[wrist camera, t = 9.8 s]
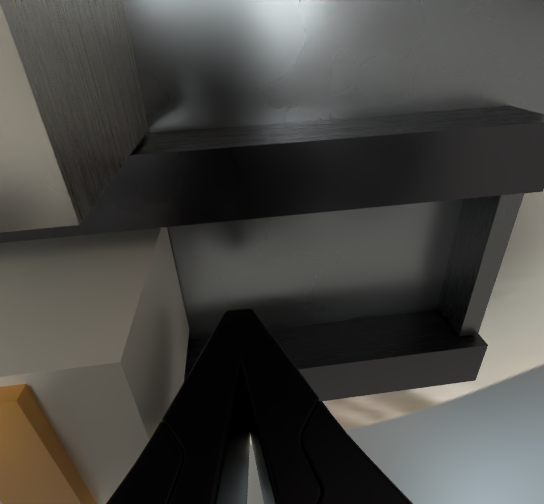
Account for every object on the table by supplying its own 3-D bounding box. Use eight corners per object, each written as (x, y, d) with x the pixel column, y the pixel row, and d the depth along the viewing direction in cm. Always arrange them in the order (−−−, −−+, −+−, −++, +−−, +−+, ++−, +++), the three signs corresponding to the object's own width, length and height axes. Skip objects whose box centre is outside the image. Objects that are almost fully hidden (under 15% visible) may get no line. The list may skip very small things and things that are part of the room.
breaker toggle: (164, 216, 10) (115, 378, 5) (189, 329, 12) (169, 516, 7) (4, 230, 9) (-197, 418, 5) (59, 344, 11) (-47, 549, 7)
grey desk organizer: (552, -39, 9) (1099, -150, 3) (455, 316, 15) (596, 488, 9) (-167, -7, 8) (-1169, -100, 2) (37, 366, 13) (-90, 600, 8)
